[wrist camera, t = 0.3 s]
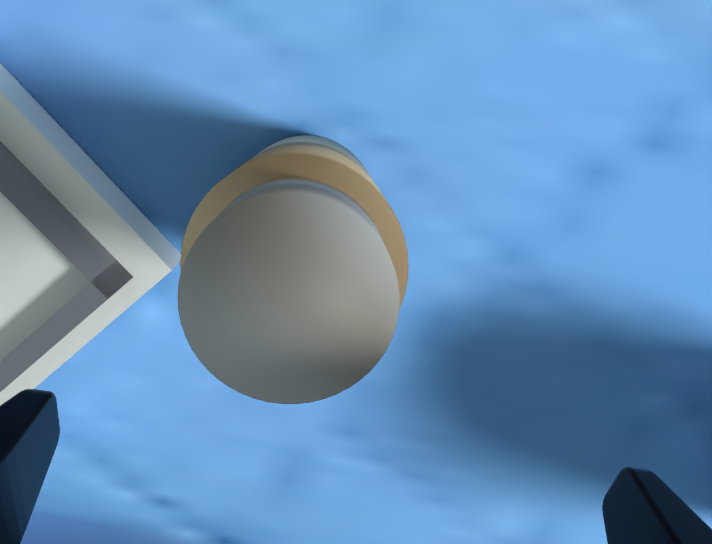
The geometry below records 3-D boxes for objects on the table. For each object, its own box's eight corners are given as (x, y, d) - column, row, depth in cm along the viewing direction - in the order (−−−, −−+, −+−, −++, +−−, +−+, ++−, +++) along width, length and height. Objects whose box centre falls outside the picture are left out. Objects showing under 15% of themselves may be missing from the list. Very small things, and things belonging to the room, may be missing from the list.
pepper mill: (300, 295, 25) (277, 473, 13) (210, 195, 24) (91, 289, 12) (401, 212, 24) (479, 317, 12) (314, 105, 23) (303, 103, 11)
